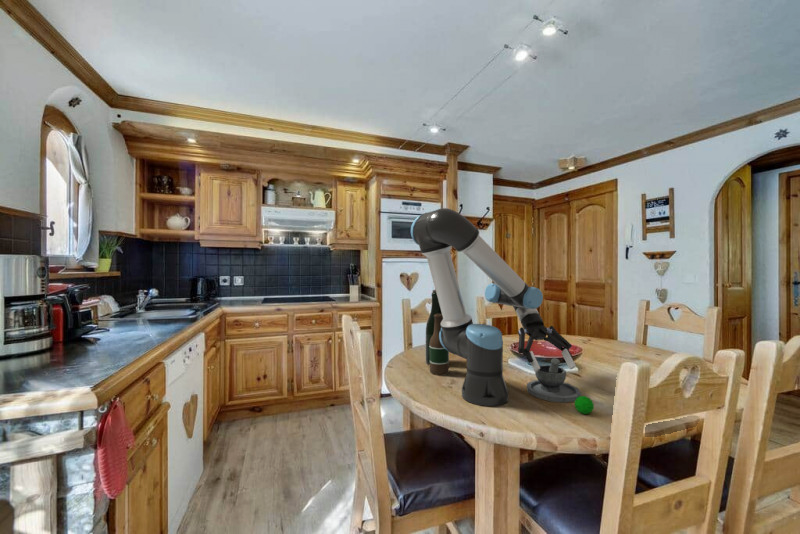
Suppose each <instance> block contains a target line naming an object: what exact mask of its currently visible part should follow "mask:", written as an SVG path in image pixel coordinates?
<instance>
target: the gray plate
mask: <svg viewBox="0 0 800 534" xmlns="http://www.w3.org/2000/svg"><path fill="white" fill-rule="evenodd" d="M526 388H527V389H526V391H527V393H528V394H530V395H532V396H533V397H535V398H538V399H541V400H544V401H547V402H555V403H572V402H574V403H575V400H576V399H577V397H580V396H582V392H581V390H580V389H579V388H578V387H576V386H574V385H573V384H570V383H568V382H565V381H564V382H563V384H562V385H560V391H559V392H555V393H553V392H547V391H544V390H542V389H541V383H540V382H539V381H538V379H534V380H531V381H529V382H527V383H526Z"/></svg>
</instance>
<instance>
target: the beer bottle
mask: <svg viewBox="0 0 800 534" xmlns="http://www.w3.org/2000/svg"><path fill="white" fill-rule="evenodd" d="M434 317H435V322H434V334H433V335H432V337H431V339H430V344H429V354H430V365H429V372H430V374H432V375H434V376H445V375H447V374H448V373H449V372H450V371H449V369H450V365H449V364H450V363H449V362H450V352H449V351H447V350H446V349H445V348H444V347H443V346H442V344H441V342H440V339H439V333H440V331H441V321H442V320H443V318H442V317H443V316H442V314H435V315H434Z"/></svg>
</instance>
